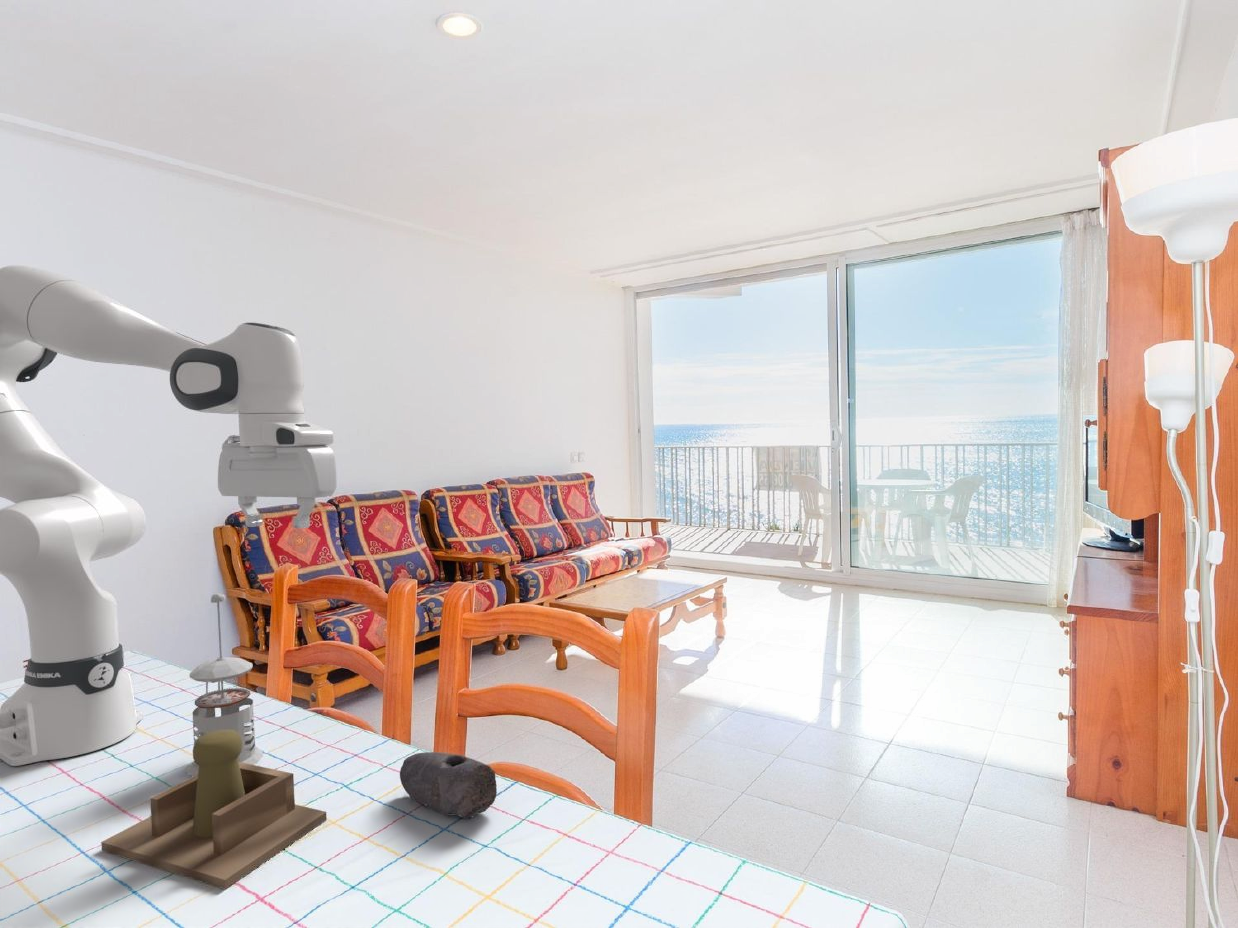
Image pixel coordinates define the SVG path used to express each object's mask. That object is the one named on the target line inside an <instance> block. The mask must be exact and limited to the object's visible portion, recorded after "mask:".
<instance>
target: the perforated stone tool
mask: <svg viewBox="0 0 1238 928" xmlns="http://www.w3.org/2000/svg"><path fill="white" fill-rule="evenodd" d="M399 779H400V782H401V785H402V788H403V789H404V791H405V792H406V794H407V795H409V797H410V798H412V799H413V800H414V801H416V803H419V804H421V805H424V806H426V808H428V809H431V810H434V811H436V812H437V813H439V814H443V815H445V816H453V815H454V816H460V817H461V819H464V820H467V819H471V818H472V817H474V816H475V815H477V814H479V815H480V814H481V813H484V812H486V811H487V810H488V809H489V808H490V807H491V806H493V804H494V803H495V800H496V798H497V793H498V792H497V789H498V788H497V786H498V785H497V780H496V771H495V770H494V769H493V768H492V767H491V766H490V765H488V764H485V763H484V762H482V761H478V760H476V759H473V758H470V757H468V756H465V755H460V754H454V753H447V752H437V751H435V752H433V751H430V752H427V751H426V752H418V753H414V754H411V755H410V756H408V757H406V758H405V759H404V760H403V762H402V766H401V767H400V771H399Z"/></svg>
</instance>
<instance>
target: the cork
mask: <svg viewBox="0 0 1238 928" xmlns="http://www.w3.org/2000/svg"><path fill="white" fill-rule="evenodd" d="M197 739H198V738H197ZM241 751H242V739H241V736H240V734H239V733H238V732H236V731H234V730H218V731H213V732H210V733H207V734H205V735H203V736H202V737H200V738H199V739H198V740H197V741H196V743H195V745H194V744H193V748H192V758H193V761H195V763H196V764H197V765H198V766H199V770H198V780H197V790H196V800H195V811H194V821H193V834H194V835H195V836H197V837H201V838H211V837H213V827H212V814H213V813H214V812H216V811H218V810H220V809H222V808H223V807H225V806H227V805H229V804H230V803H232V802H234V801H236V800H237V799H239V798H241V797H243V796H245V791H244V786H243V781H242V776H241V771H240V766H239V762H238V756H239V755H240V753H241Z"/></svg>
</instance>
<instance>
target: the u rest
mask: <svg viewBox="0 0 1238 928" xmlns="http://www.w3.org/2000/svg"><path fill="white" fill-rule="evenodd" d="M239 766H240V771H241V776H242V781H243V786H244V791H245V796H243V797H241V798H239V799H237V800H236V801H234V802H232V803H230V804H229V805H227V806H225V807H223V808H222V809H220V810H218V811H216V812H214V813H213V814H212V827H213V837H211V838H201V837H197V836H195V835H194V834H193V821H194V811H195V800H196V790H197V780H198V774H197V775H195V776H191V777H190V778H187V779H186V780H183V781H182V782H179V783H178V784H175V785H174V786H171V787H169V788H167V789H165V790H163V791H161V792H159V793H157V794H155V795H153V796H151V797H149V800H150V802H149V803H150V816H149V817H147V818H145V819H143V820H141V821H139V822H137V823H135V824H133V825H131V826H130V827H128V828H126V829H123V830H122V831H120V832H118V833H116V834H114V835H112V836H110V837H108V838H107V839H105V840H103V841H101V842H100V843H101V845H100V846H101V851H103V852H105V853H107V854H112V855H115V856H119V857H122V858H124V859H128V860H131V861H134V862H138V863H141V864H144V865H147V866H151V867H153V868H157V869H159V870H163V871H167V872H169V873H173V874H175V875H178V876H183V877H186V878H188V879H192V880H195V881H198V882H201V883H205V884H208V885H211V886H215V887H217V888H221V889H224V890H227V889H228V888H229V887H231V886H232V885H234V884H235V883H237V882H238V881H240V880H241V879H242V878H244V877H246V876H247V875H248V874H250V873H252V872H253V871H254V870H255V869H257V868H258V867H259V868H260V866H262V865H263V864H264V863H266V862H267V861H269V860H270V859H271V858H273V857H274V856H276V855H277V854H279V853H280V852H282V851H283V850H285V849H286V848H288V847H289V846H291V845H292V844H294V843H296V842H297V841H298V840H299V839H301V838H302V837H303V836H305V835H307V834H308V833H309V832H311V831H313V830H314V829H316V828H317V827H318V826H320V825H321V824H323V823H325V821H327V811H324V810H321V809H315V808H311V807H307V806H303V805H299V804H296V803H295V784H294V783H295V781H294V779H295V778H294V773H292V772H286V771H282V770H279V769H275V768H273V769H272V768H269V767H264V766H260V765H255V764H254V765H251V764H246V763H242V762H239Z"/></svg>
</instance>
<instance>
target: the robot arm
mask: <svg viewBox="0 0 1238 928" xmlns="http://www.w3.org/2000/svg"><path fill="white" fill-rule="evenodd" d="M57 354H60V355H63V356H67V357H70V358H74V359H77V360H83V361H88V362H93V363H103V364H112V365H113V364H115V365H124V366H125V365H126V366H138V367H145V368H151V369H157V370H162V371H166V372H169V385H170V390H171V392H172V394H173V396H174V397H175V399H176V400H177V401H178V403H179V404H180V405H182V406H183V407H184V408H186V409H188V410H191V411H196V412H199V413H206V414H223V415H224V414H225V415H227V414H228V415H238V431H239V432H238V433H239V435H235V434H233V435H229V436H228V437H227V439H226V440H224V442H223V443H222V444H221V445H222V446H221V452H220V454H219V459H218V469H217V488H218V491H219V493H220V495H221V496H222V497H237V499H238V501H237V502H238V503H237V504H238V506H239V508H240V510H241V511H242V513H243V515H244V519H245V526H246V527H254V528H256V527H260V526H262V525H263V520H262V519H263V513H259V512H258V510H257V507H256V504H255V503H257V502H258V499H257V498H259V497H260V498H261V497H262V498H296V505H297V506H299V508H298V511H297V514H296V515H294V516H292V528H294V529H300V530H301V529H308V528H310V526H311V525H310V524H311V522H310V521H311V519H310V516H311V514H312V512H313V511H314V509H315V506H316V499H317V498H326V497H332V496H333V495H334V493H335V491H336V489H337V485H338V484H337V479H338V478H337V477H338V476H337V465H336V464H337V463H336V457H335V453H334V450H333V449H332V448H331V447H330V446H331V445H332V444H333V443H334V433H333V431H332V430H330V429H327V428H324V427H322V426H319V425H318V424H314V423H312V422H310V421H306V412H305V408H304V406H303V401H302V400H303V399H302V393H303V390H304V389H303V388H304V386H305V385H304V383H305V382H304V367H303V365H304V364H303V359H302V350H301V347H300V343H299V340H298V338H297V336H296V335H295V334H294V333H293V332H292V331H291V330H289V329H287V328H283V327H279V326H274V325H270V324H266V323H260V322H244V323H241V324H239V325H238V326H237V327H236V328H235V329H234V330H233V331H232V333H230V334H228V335H227V336H225V337H223V338H221V339H219V340H216V341H214V342H212V343H209V344H208V343H207V344H206V343H204V342H201V341H199V340H196V339H193V338H191V337H189V336H186V335H184V334H181V333H179V332H177V331H174V330H171V329H170V328H168V327H167V326H164V325H162V324H160V323H158V322H156V321H154V320H152V319H151V318H148V317H147V316H145V315H143V314H141V313H139V312H137V311H135V310H134V309H132V308H129V307H128V306H126V305H124V304H122V303H121V302H119V301H117V300H116V299H113V298H112V297H110V296H108V295H106V294H104V293H102V292H101V291H98V290H96V289H94V288H93V287H90V286H88V285H86V284H83V283H81V282H79V281H77V280H74V279H71V278H69V277H66V276H63V275H60V274H57V273H55V272H51V271H48V270H43V269H39V268H36V267H35V268H34V267H31V266H25V265H17V264H16V265H8V266H4V267H0V498H3V499H6V500H8V501H10V502H12V503H13V504H11V505H9V506H6V507H5V506H4V507H3V508H0V574H1V575H2V576H4V577H5V578H6V579H7V580H8V581H9V582H10V583H11V584H12V585H13V587H14V588H15V591H17V593H18V596H19V597H20V599H21V601H22V603H23V606H24V610H25V612H26V613H25V614H26V618H27V626H28V627H27V628H28V637H29V648H30V658H29V659H24V660H23V661H22V663H27V664H26V665H23V667H22V668H23V669H24V668H25V669H24V679H23V682H24V683H23V684H22V685H21V686H20V687H19V688H18V689H17V690H16V691H15V692H14V693H13V694H12V695H11V696H9V697H8V699H6V700H5V701H4V702H3V703H2V704H1V705H0V760H2V761H3V762H5V763H7V765H9V766H10V767H11V766H12V767H18V766H24V765H27V764H32V763H38V762H42V761H48V760H49V761H50V760H59V759H64V758H70V757H76V756H79V755H80V756H81V755H83V754H88V753H91V752H95V751H98V750H101V749H104V748H106V747H109V746H111V745H114V744H117V743H118V742H120V741H123V740H124V739H126V738H128V737H129V736H131V735H132V734H133V733H134V732H135V731H136V729H137V724H138V722H140V721H141V720H142V719H143V718H144V716H143V712H142V711H140V710H137V709H136V704H135V698H134V691H133V685H132V680H131V678H132V677H131V675H130V674H129V673H128V672H127V671H125V670H123V667H124V665H125V664H124V663H125V661H124V658H125V655H124V653H125V652H124V651H123V650H124V649H123V645H122V644H121V643H120V640H119V639H120V637H119V620H118V617H119V616H118V604H117V600H116V598H115V597H114V595H113V594H112V593H110V592H109V591H107V590H105V589H103V588H101V587H100V586H99V585H98V584H97V581H96V580H95V578H94V575H93V573H92V569H91V567H90V566H91V564H90V563H91V562H93V561H99V560H102V559H107V558H111V557H113V556H116V555H117V554H120V553H121V552H124V551H125V550H127V549H130V548H131V547H132V546H134V545H136V544H137V543H138V542H140V540H141V539H142V537H143V536H144V534H145V532H146V526H147V517H146V514H145V511H144V509H143V507H142V506H141V505H140V503H139V502H137V501H136V499H133V498H132V497H130V496H127V495H125V494H122V493H120V492H118V491H115V490H114V489H111V488H110V487H108V486H106V485H105V484H103V483H102V482H100V481H99V480H98V479H97V478H95V477H94V476H92V475H91V474H90V473H89V472H87V470H85V469H83V468H82V467H81V466H79V465H78V464H77V463H75V461H73V460H72V459H71V458H70V457H69V456H68V455H67V454H66V453H64V452H63V451H62V449H61V448H60V447H59V446H58V445H57V443H56V442H55V441H54V440H53V438H52V437H51V436H50V435H49V433H48V432H47V431H46V429H45V428H44V427H43V425H42V424H41V423H40V422H39V421H38V419H37V417H35V414H33V412H32V411H31V410H30V409H29V408H28V406H27V405H26V404H25V402H24V401H23V400H22V398H20V397H21V396H19V394H18V392H17V390H16V383H28V382H31V381H33V380H35V379H36V378H37V376H38V375H39V373H40V371H42V370H43V369H46V368H47V367H48V366H49V365H50V364H51V363H52V362H53V360H54V359H55V358H56V357H57V356H58V355H57Z"/></svg>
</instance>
